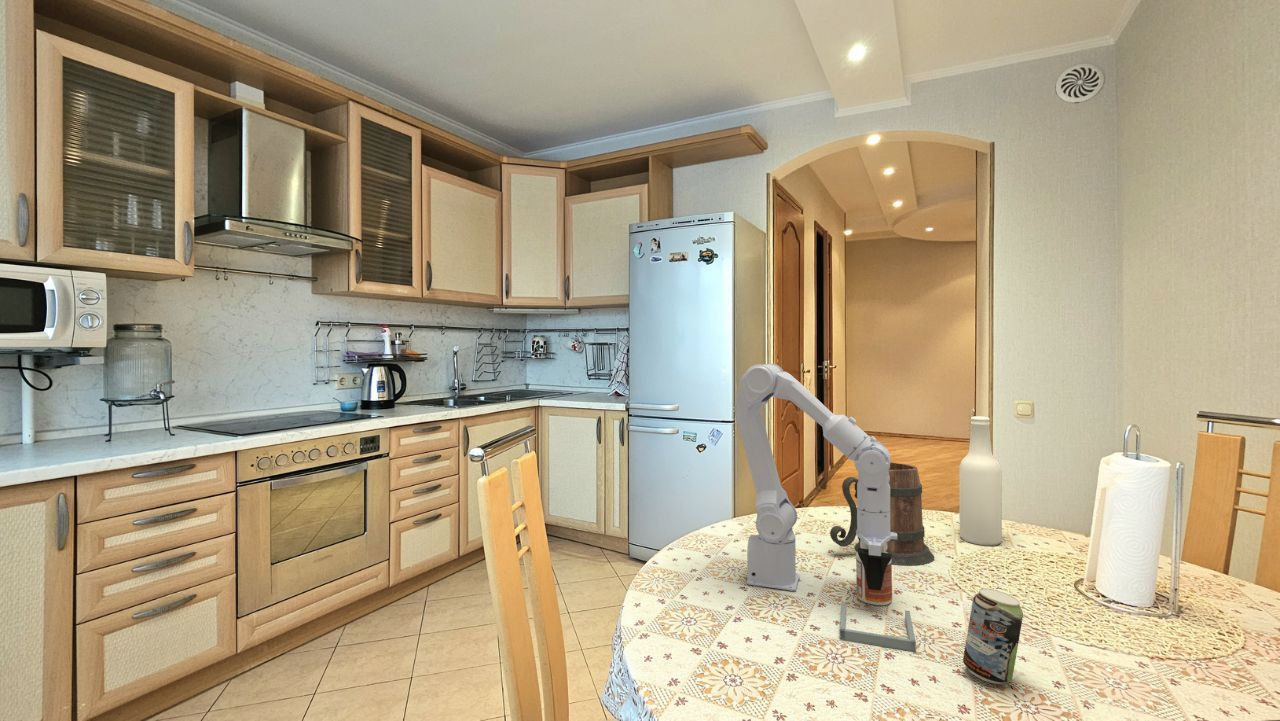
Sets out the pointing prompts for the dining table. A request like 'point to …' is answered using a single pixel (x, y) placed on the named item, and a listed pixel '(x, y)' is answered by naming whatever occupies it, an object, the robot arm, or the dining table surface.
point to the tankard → (895, 517)
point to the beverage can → (993, 636)
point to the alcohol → (980, 489)
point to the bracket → (878, 635)
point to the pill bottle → (862, 589)
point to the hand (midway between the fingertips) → (873, 580)
